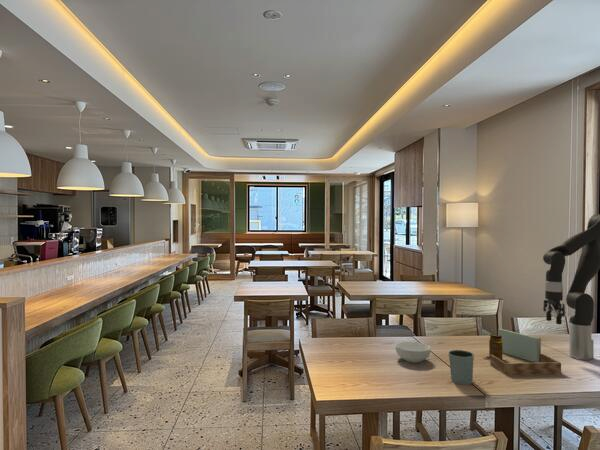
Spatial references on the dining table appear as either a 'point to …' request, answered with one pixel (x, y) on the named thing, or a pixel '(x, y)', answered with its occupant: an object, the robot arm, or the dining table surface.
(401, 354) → the cereal bowl
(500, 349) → the condiment
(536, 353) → the cover door
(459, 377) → the blue-grey cup
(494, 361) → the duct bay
